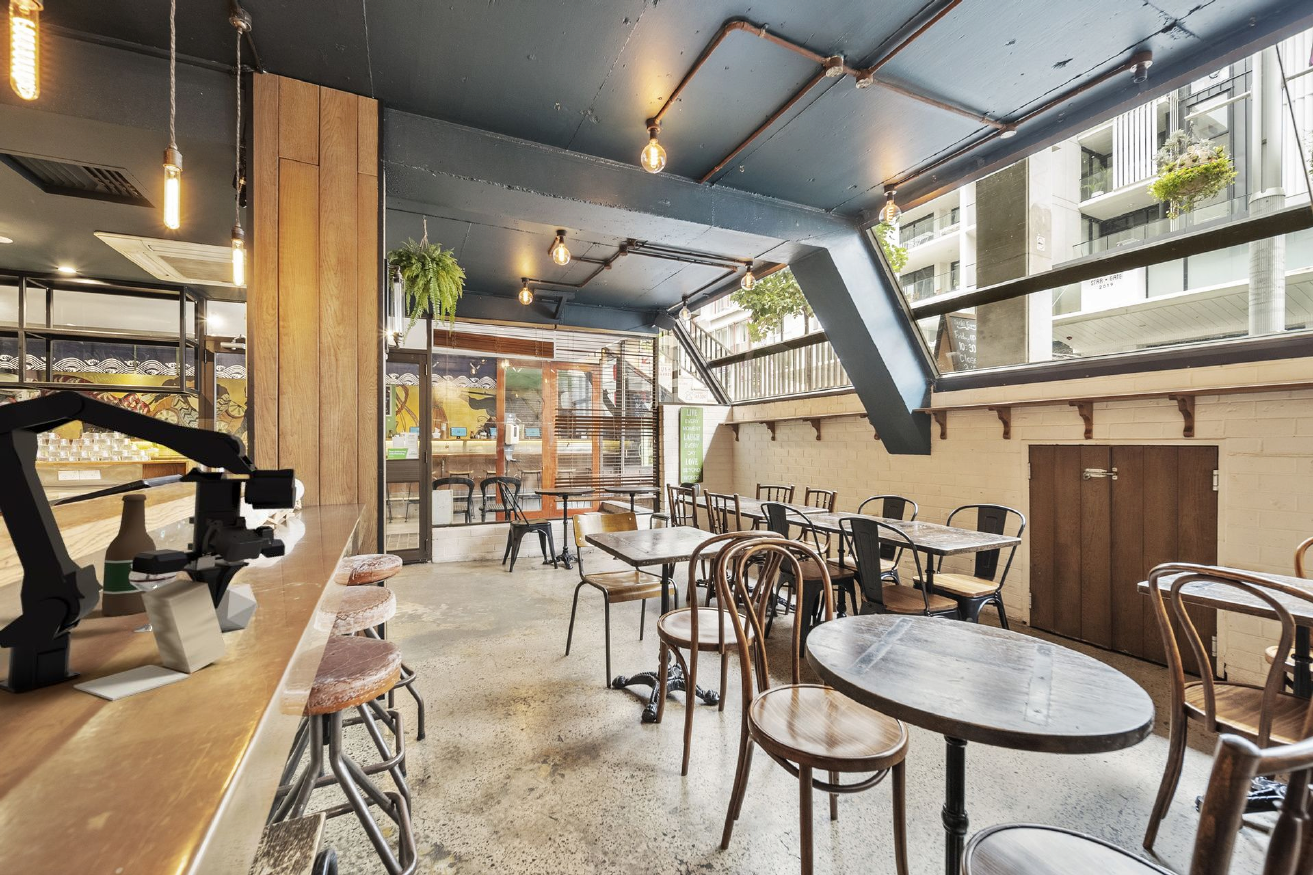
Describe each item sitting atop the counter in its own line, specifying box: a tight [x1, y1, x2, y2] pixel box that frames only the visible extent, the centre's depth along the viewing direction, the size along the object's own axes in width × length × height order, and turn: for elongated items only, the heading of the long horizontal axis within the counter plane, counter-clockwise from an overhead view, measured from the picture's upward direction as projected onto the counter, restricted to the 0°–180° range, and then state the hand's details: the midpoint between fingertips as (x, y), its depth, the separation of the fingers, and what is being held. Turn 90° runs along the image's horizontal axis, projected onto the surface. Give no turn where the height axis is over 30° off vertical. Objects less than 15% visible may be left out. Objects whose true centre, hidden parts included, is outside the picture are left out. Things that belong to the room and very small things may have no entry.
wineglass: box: [129, 564, 178, 633], centre depth 102 cm, size 7×7×12 cm
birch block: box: [142, 578, 228, 674], centre depth 83 cm, size 7×5×12 cm
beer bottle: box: [101, 493, 157, 617], centre depth 112 cm, size 8×8×24 cm
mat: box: [73, 664, 190, 702], centre depth 77 cm, size 10×8×1 cm
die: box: [215, 583, 259, 632], centre depth 102 cm, size 8×9×10 cm
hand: (212, 609), depth 86 cm, fingers closed
